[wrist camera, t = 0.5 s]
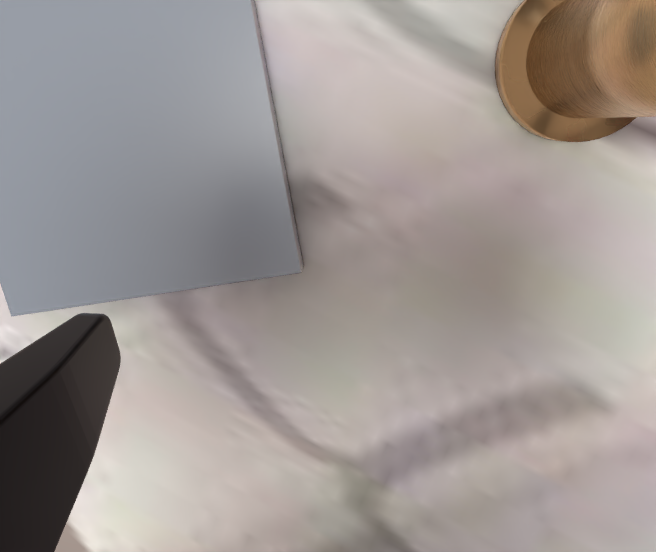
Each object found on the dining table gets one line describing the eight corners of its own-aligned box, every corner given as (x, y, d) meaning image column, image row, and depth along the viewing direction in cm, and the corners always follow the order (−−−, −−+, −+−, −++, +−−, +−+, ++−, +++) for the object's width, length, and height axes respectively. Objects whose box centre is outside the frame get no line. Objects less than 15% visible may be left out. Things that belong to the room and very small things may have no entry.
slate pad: (303, 266, 22) (301, 272, 21) (25, 308, 23) (11, 316, 22) (242, -64, 19) (236, -74, 18) (-76, 2, 20) (-97, -4, 19)
